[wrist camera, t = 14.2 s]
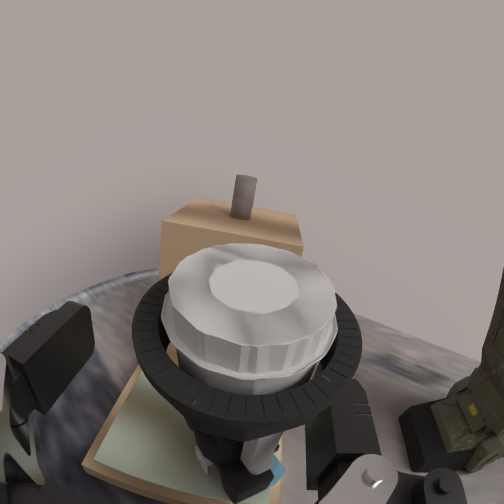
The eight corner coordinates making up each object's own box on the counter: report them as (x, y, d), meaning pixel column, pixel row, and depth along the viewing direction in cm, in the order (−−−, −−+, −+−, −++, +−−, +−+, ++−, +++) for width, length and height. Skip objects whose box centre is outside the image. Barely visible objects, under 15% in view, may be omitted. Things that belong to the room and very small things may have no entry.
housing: (176, 312, 24) (190, 162, 20) (280, 333, 24) (316, 184, 20) (86, 472, 9) (1, 210, 5) (273, 521, 9) (420, 291, 5)
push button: (146, 410, 13) (101, 227, 8) (237, 378, 15) (257, 203, 10) (207, 523, 8) (185, 448, 3) (311, 471, 10) (420, 315, 6)
